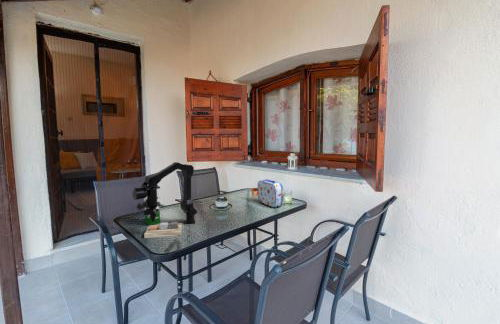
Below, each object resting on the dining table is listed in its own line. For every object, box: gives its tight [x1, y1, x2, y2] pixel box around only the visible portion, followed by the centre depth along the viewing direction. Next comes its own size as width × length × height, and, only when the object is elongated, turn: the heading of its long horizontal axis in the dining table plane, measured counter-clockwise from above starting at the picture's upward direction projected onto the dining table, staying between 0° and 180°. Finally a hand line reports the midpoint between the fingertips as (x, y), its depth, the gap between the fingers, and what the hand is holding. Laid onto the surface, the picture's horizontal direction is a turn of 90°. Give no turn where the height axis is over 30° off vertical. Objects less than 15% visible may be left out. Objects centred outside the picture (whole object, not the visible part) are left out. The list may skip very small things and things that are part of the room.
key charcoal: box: [169, 221, 179, 229], centre depth 153 cm, size 4×4×3 cm
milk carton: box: [143, 196, 161, 226], centre depth 167 cm, size 9×9×20 cm
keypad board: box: [143, 222, 183, 239], centre depth 152 cm, size 14×20×3 cm
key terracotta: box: [150, 224, 159, 231], centre depth 151 cm, size 4×4×3 cm
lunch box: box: [257, 179, 284, 208], centre depth 210 cm, size 28×10×22 cm, turn 33°
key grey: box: [159, 221, 169, 230], centre depth 152 cm, size 4×4×3 cm
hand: (153, 221), depth 150 cm, fingers closed
